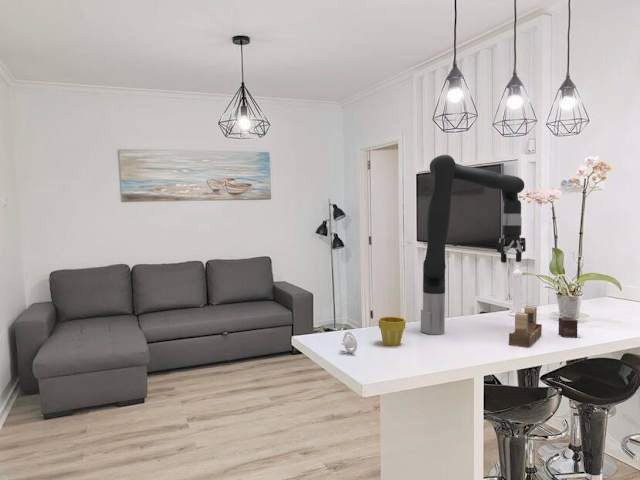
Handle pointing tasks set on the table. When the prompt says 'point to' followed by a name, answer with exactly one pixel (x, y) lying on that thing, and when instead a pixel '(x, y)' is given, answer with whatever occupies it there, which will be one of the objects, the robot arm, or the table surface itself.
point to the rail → (526, 338)
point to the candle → (516, 291)
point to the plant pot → (391, 330)
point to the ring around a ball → (350, 342)
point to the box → (568, 327)
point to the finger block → (521, 323)
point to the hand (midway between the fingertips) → (511, 262)
